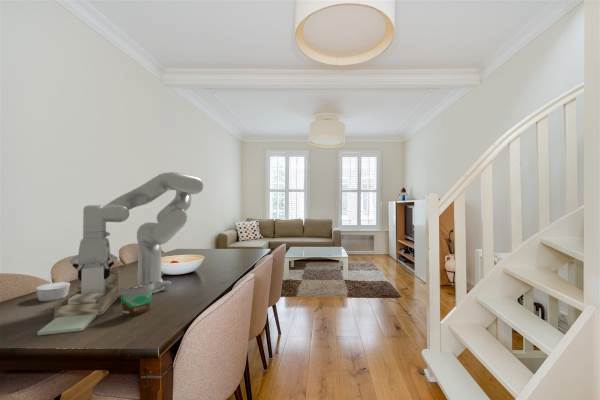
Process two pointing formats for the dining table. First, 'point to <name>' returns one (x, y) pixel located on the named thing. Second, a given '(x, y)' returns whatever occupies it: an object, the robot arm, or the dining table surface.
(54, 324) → the sage board
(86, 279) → the milk carton
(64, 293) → the ramekin
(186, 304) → the dining table surface
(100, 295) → the offcut stack
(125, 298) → the food container
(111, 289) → the birch rack
